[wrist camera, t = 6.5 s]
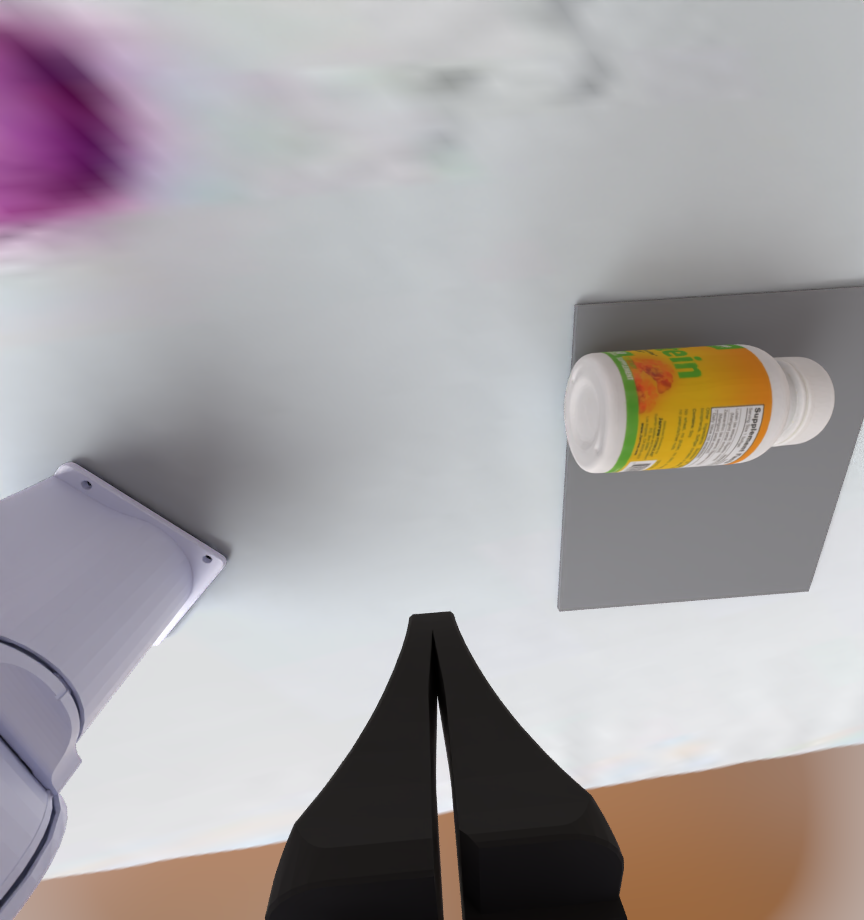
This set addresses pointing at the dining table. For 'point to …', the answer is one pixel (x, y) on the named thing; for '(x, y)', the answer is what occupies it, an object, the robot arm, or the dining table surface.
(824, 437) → the slate mat
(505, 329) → the dining table surface
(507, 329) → the dining table surface
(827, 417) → the supplement bottle
